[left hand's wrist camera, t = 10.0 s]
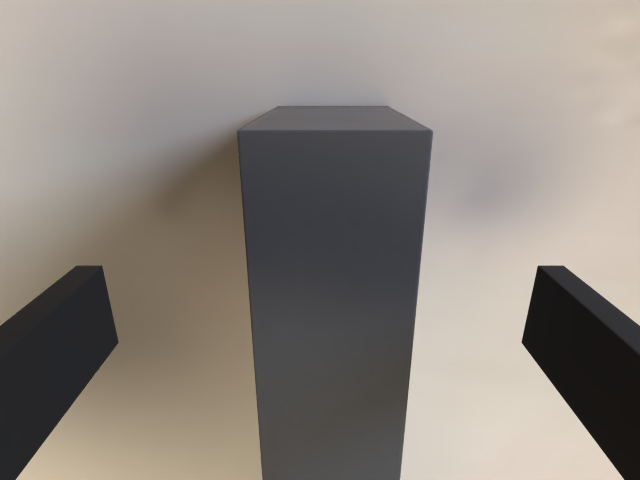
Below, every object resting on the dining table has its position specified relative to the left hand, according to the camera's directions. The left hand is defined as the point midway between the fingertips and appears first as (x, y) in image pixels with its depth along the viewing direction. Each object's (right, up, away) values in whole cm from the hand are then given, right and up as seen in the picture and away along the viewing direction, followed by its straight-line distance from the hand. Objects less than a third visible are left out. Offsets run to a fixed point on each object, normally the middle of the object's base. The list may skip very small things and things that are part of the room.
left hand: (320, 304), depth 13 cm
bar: (+1, -25, +19) cm, 31 cm away
